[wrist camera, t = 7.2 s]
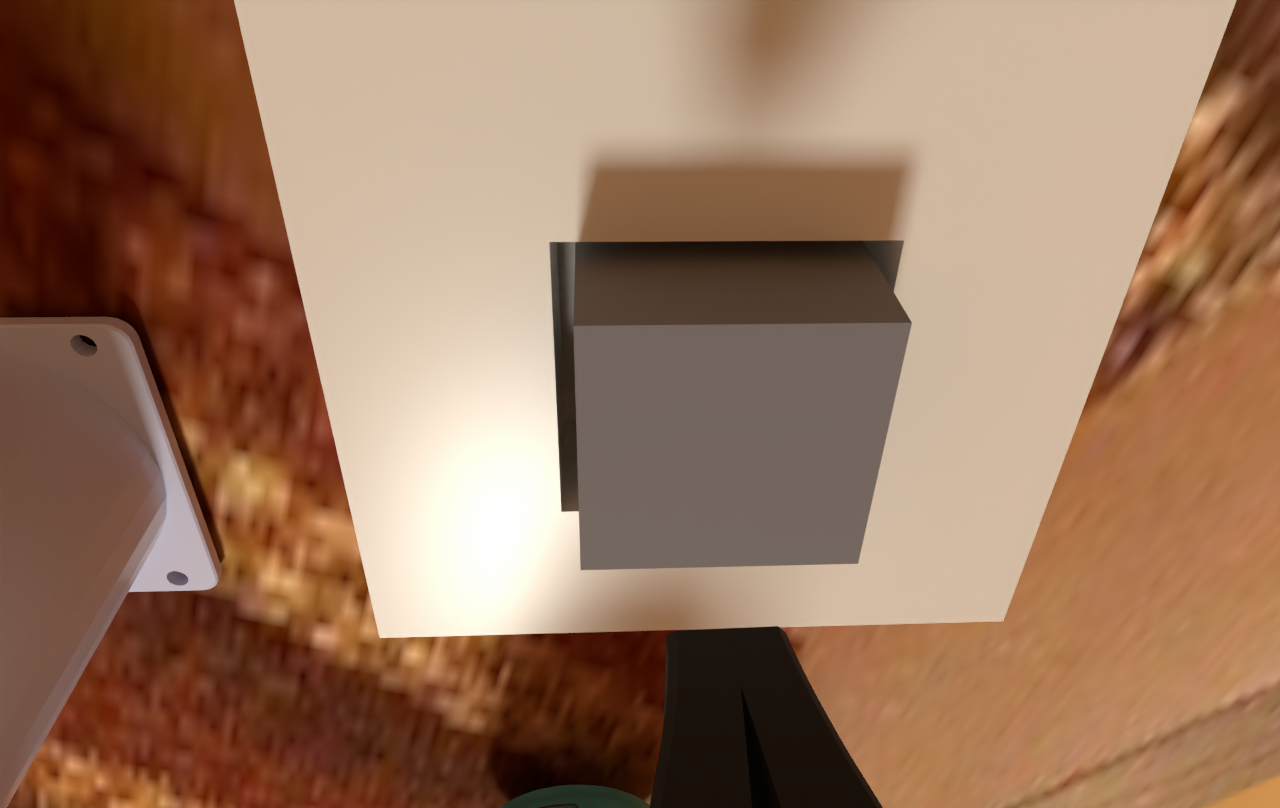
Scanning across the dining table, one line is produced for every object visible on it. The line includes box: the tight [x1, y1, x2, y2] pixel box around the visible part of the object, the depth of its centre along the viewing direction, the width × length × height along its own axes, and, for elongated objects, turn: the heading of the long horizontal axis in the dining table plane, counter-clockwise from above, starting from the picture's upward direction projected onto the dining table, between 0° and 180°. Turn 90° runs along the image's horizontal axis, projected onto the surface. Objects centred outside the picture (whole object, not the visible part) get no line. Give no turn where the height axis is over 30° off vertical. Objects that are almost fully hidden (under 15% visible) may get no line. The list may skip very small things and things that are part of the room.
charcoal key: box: [573, 241, 912, 570], centre depth 16 cm, size 5×5×3 cm
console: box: [234, 0, 1236, 638], centre depth 15 cm, size 14×24×4 cm, turn 179°
